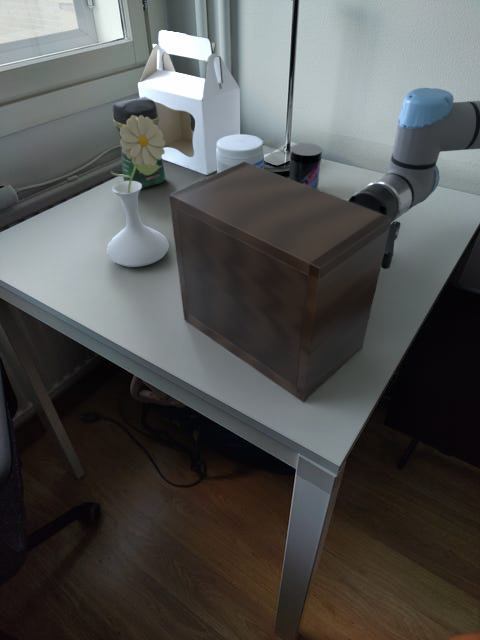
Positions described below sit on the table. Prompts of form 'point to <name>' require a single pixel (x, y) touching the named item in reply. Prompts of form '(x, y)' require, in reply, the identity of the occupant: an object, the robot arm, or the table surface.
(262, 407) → the table surface
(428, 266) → the table surface
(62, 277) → the table surface
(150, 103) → the coffee jar
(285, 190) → the wooden storage box
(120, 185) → the flower in vase
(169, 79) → the gable box
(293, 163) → the supplement container
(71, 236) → the table surface
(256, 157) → the supplement tub
